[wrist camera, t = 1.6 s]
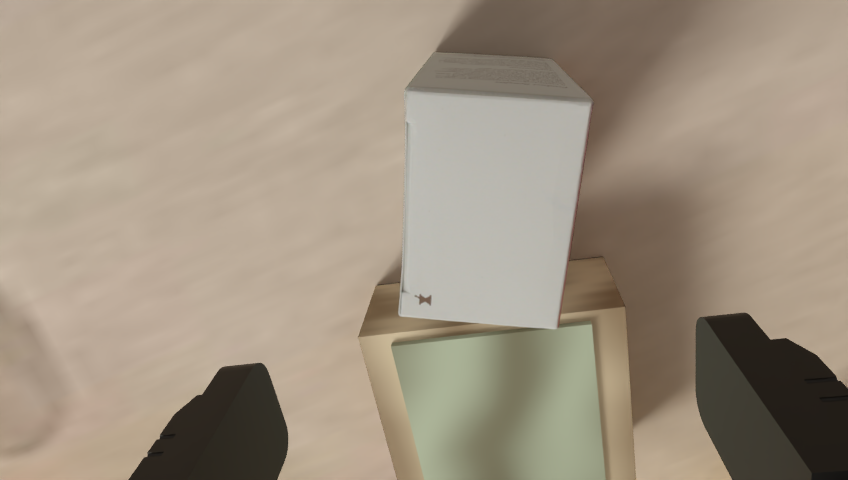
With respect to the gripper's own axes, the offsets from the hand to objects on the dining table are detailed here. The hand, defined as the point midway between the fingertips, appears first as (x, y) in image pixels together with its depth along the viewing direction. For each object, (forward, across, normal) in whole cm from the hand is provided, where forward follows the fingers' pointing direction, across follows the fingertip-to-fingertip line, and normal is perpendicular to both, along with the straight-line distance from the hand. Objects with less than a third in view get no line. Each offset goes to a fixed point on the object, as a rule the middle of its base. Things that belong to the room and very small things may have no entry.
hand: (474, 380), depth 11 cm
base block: (+18, 0, +13) cm, 23 cm away
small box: (+19, 0, 0) cm, 19 cm away
